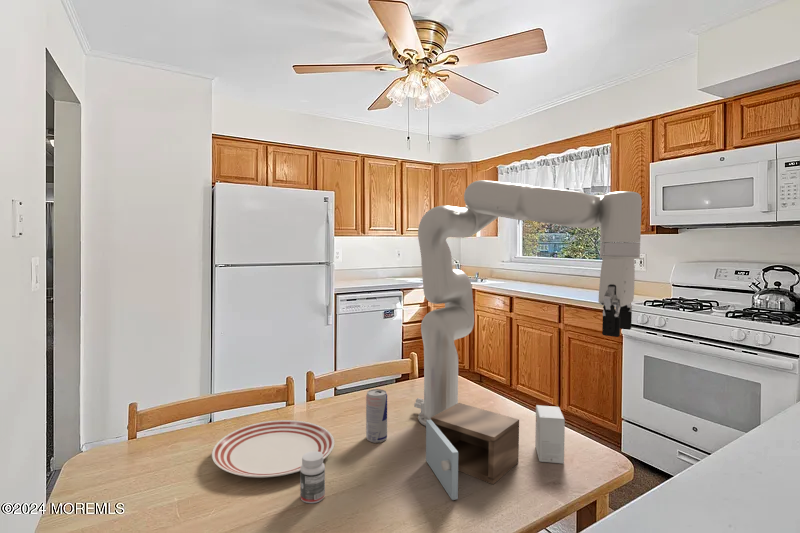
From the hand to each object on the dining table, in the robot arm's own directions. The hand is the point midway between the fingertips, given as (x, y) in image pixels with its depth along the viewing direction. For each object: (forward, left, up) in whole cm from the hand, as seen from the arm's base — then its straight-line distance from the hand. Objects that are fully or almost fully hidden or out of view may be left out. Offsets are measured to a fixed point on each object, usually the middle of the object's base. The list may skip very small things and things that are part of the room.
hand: (617, 332), depth 93 cm
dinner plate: (-63, -42, -32) cm, 82 cm away
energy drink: (-51, -20, -31) cm, 63 cm away
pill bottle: (-43, -47, -31) cm, 71 cm away
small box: (-14, 0, -32) cm, 34 cm away
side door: (-28, -26, -31) cm, 49 cm away
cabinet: (-26, -14, -31) cm, 43 cm away
